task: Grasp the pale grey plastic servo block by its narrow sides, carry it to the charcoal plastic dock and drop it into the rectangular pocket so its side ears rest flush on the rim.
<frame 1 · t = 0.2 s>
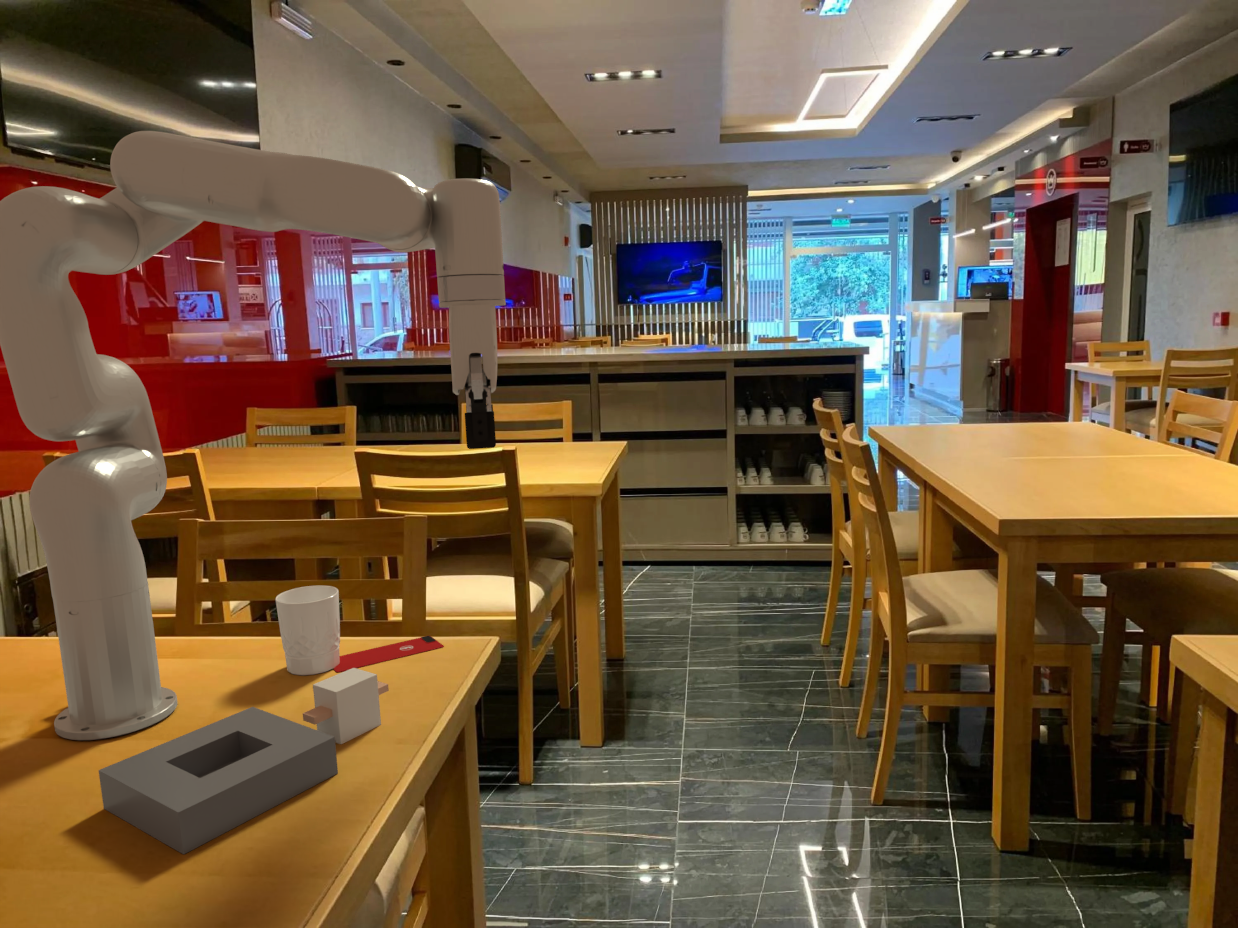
hand: (481, 442, 102), 31 cm above the table, tool pointing down, fingers open, 9 cm apart
servo block: (349, 730, 97), on the table
dock: (224, 790, 85), on the table
electronic device: (386, 657, 120), on the table
white cup: (314, 667, 117), on the table
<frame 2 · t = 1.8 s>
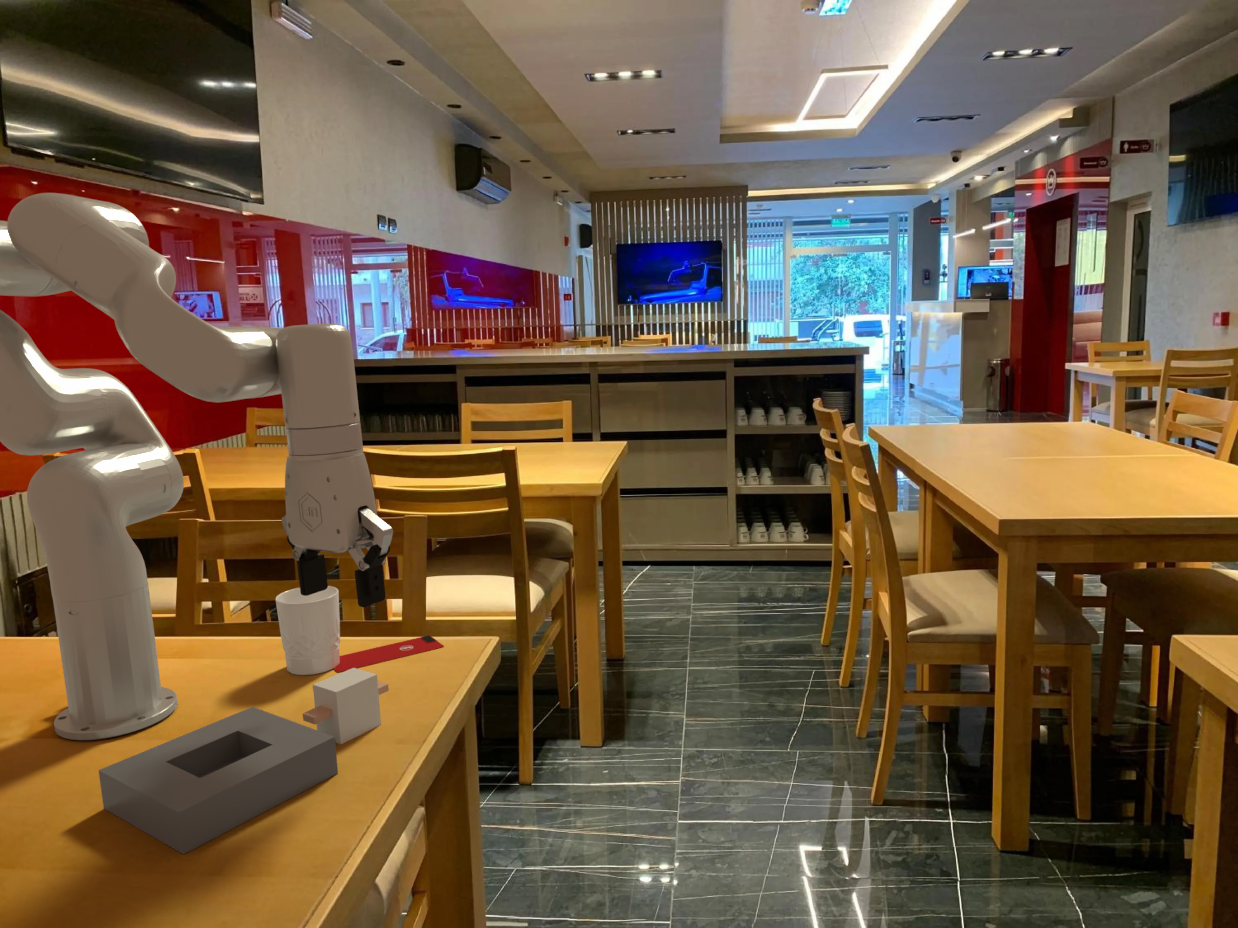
hand: (342, 597, 95), 15 cm above the table, tool pointing down, fingers open, 9 cm apart
nothing on the table moved.
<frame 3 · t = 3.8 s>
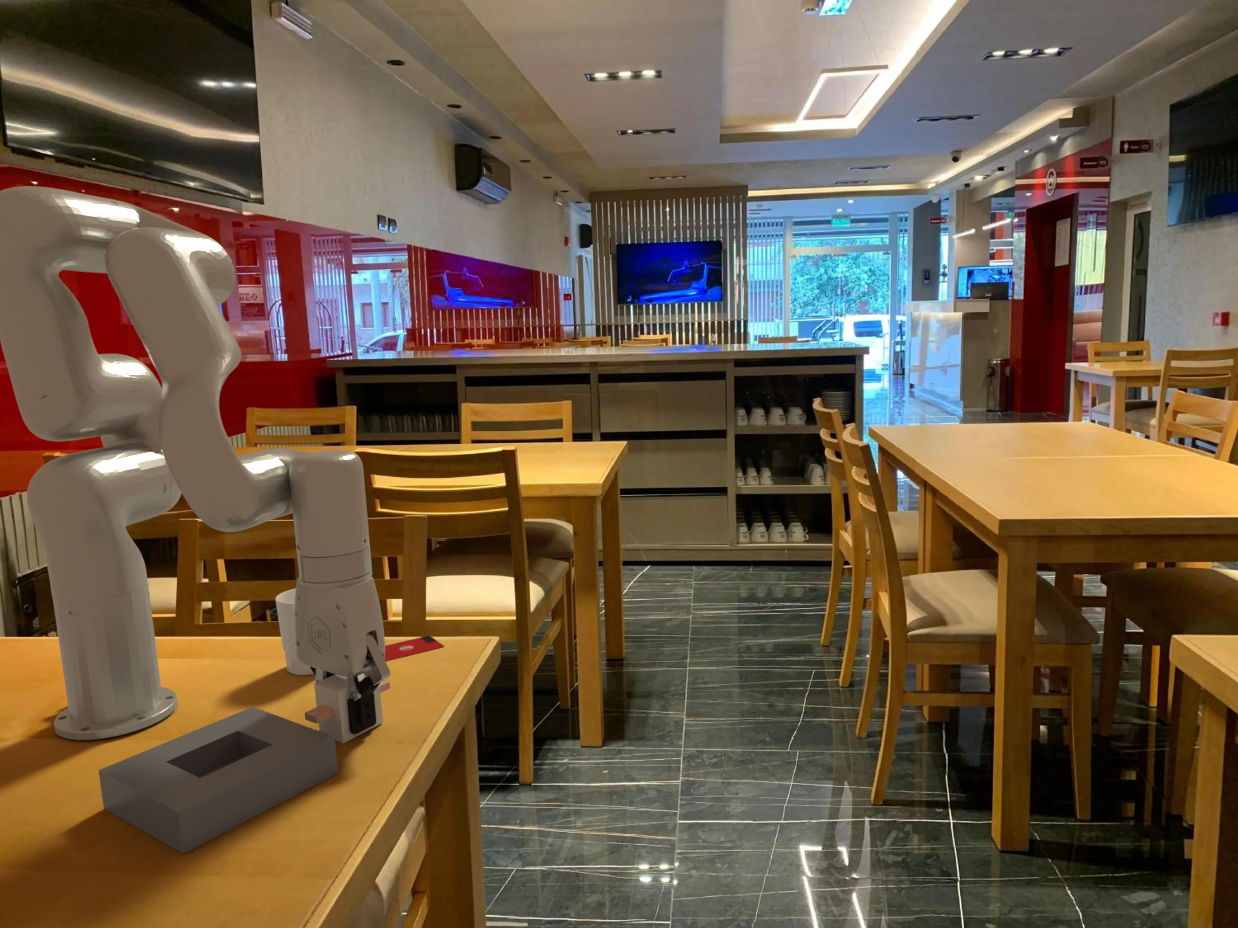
hand: (349, 722, 97), 1 cm above the table, tool pointing down, fingers closed on servo block, 3 cm apart
servo block: (351, 728, 97), on the table, touching gripper
everything else where it was.
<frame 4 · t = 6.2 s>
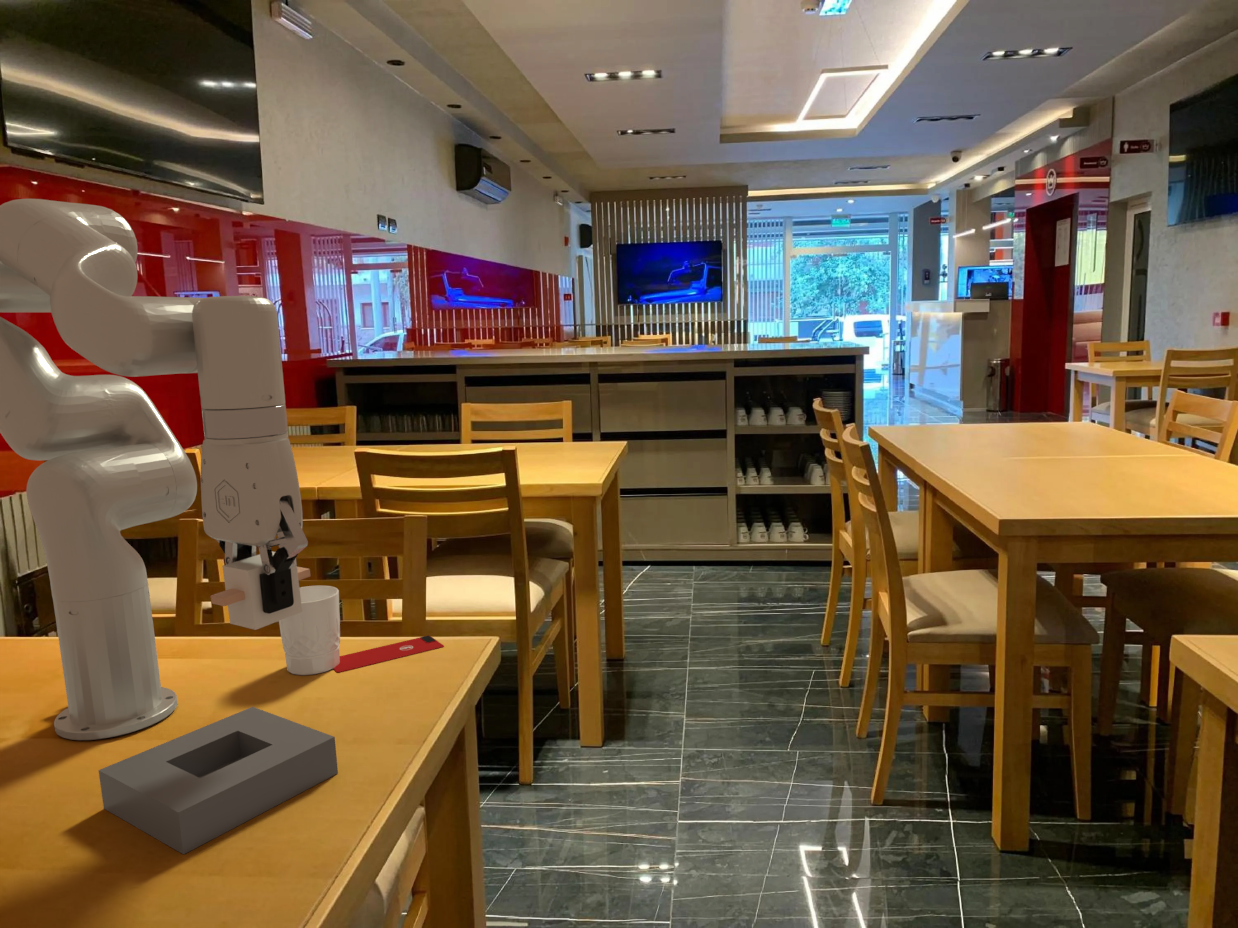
hand: (263, 604, 88), 17 cm above the table, tool pointing down, fingers closed on servo block, 4 cm apart
servo block: (266, 617, 88), point 16 cm above the table, touching gripper
everything else where it was.
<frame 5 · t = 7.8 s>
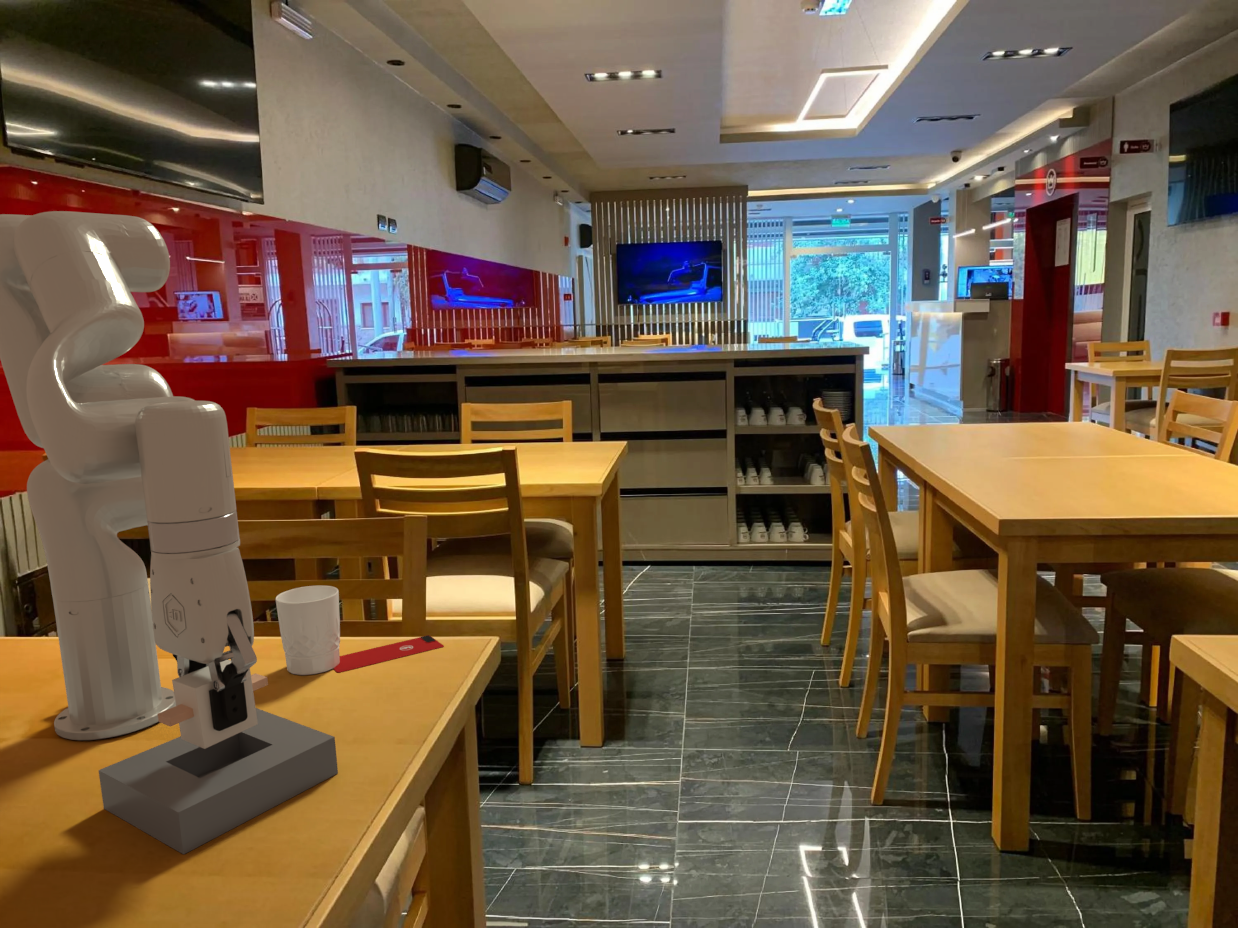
hand: (216, 717, 84), 8 cm above the table, tool pointing down, fingers closed on servo block, 4 cm apart
servo block: (220, 731, 84), point 6 cm above the table, touching gripper
everything else where it was.
when the fingers open (4 cm above the table, at t = 9.1 s): servo block drops 2 cm, resting on dock.
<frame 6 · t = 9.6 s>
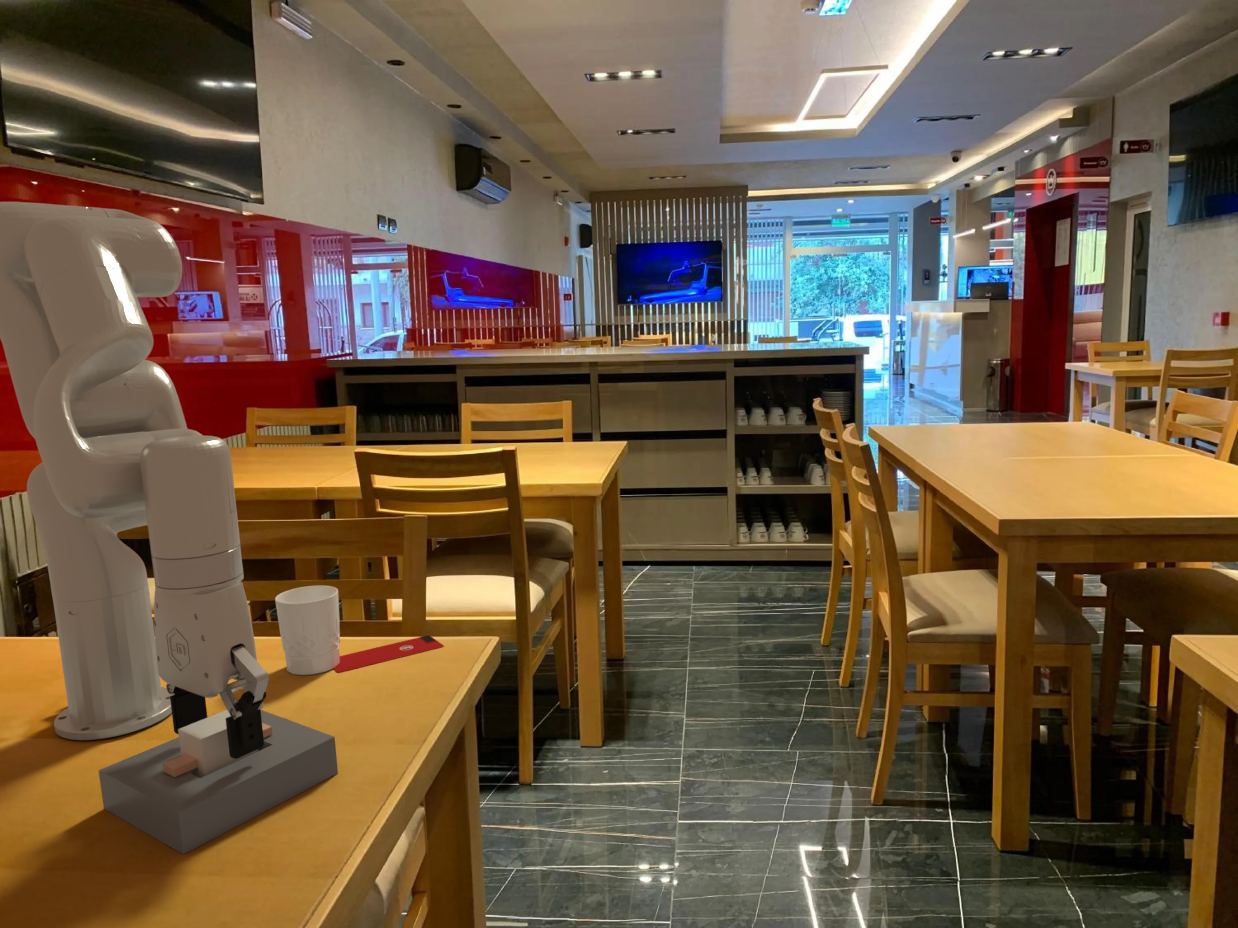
hand: (218, 739, 84), 5 cm above the table, tool pointing down, fingers open, 9 cm apart
servo block: (223, 780, 85), point 1 cm above the table, touching dock
everything else where it was.
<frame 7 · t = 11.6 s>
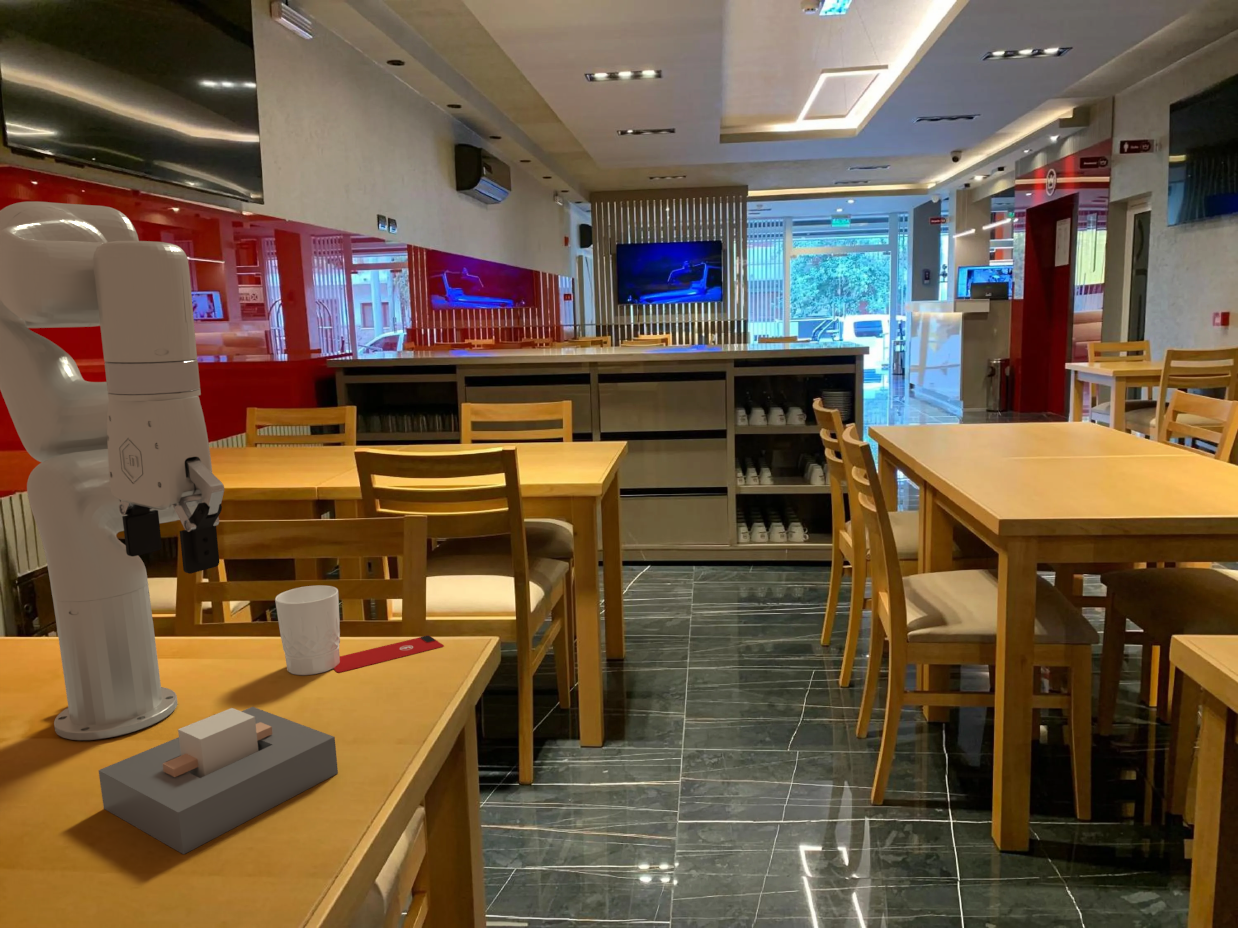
hand: (172, 560, 83), 23 cm above the table, tool pointing down, fingers open, 9 cm apart
nothing on the table moved.
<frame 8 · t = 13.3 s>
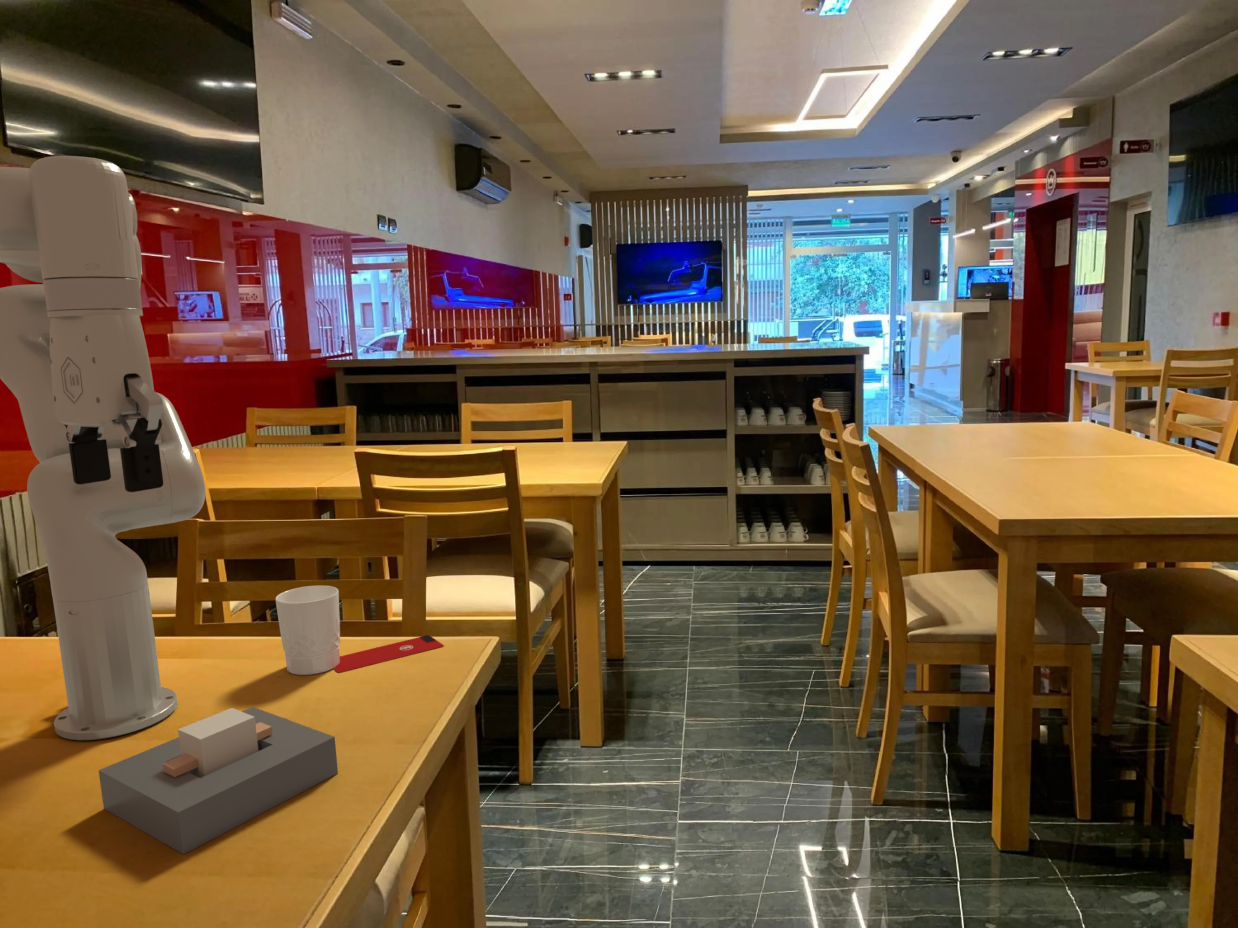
hand: (118, 485, 82), 30 cm above the table, tool pointing down, fingers open, 9 cm apart
nothing on the table moved.
at the end: servo block 0.0 cm off-centre on the dock, point 1.0 cm above the dock's base; servo block tilted 0°; the gripper is holding nothing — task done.
